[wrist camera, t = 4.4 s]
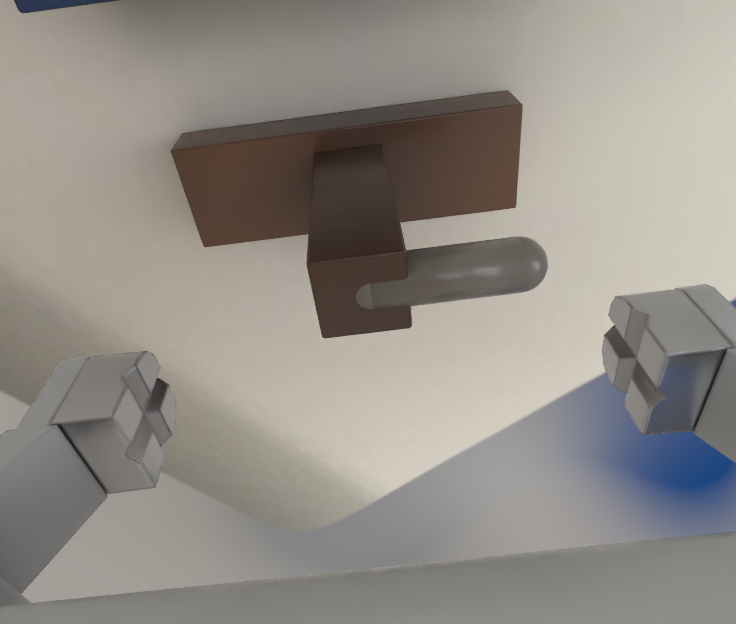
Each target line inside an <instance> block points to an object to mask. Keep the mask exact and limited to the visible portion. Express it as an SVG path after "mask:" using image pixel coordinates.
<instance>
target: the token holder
mask: <svg viewBox="0 0 736 624" xmlns="http://www.w3.org/2000/svg"><path fill="white" fill-rule="evenodd" d="M14 1H15V4H16V6H17V8H18V10H19V11H20V12H21V13H30V12H37V11H44V10H52V9H59V8H66V7H73V6H81V5H88V4H95V3H102V2H110V1H117V0H14Z"/></svg>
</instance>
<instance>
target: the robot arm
mask: <svg viewBox="0 0 736 624" xmlns="http://www.w3.org/2000/svg"><path fill="white" fill-rule="evenodd" d="M608 316H609V317H610V319H611V320H612V322H613V323H614V326H613V327H612V328H611V329H610V330H609V331H608V332H607V333H606V334H605V335H604V340H603V346H602V355H603V365H604V367H605V370H606V373H607V376H608V378H609V380H610V381H611V383H612V385H613V386H614V387H616V388H617V389H619V390H621V391H622V392H624V393H626V394H627V396H626V400H625V404H624V406H625V408H626V409H627V411H628V413H629V414H630V416H631V418H632V419H633V421H634V423H635V425H636V426H637V428H638V430H639V431H640V433H641V434H642V435H649V434H661V433H673V432H686V431H694V434H695V435H697V436H698V437H700V438H701V439H702V440H704V441H705V442H707V443H708V444H709V445H711V446H712V447H714V448H715V449H716V450H718V451H719V452H721V453H722V454H724V455H725V456H727V457H728V458H729V459H731V460H732V461H734V462H735V463H736V309H735V307H734V306H733V305H732V304H731V303H730V302H729V301H728V300H727V299H726V298H724V297H723V296H722V295H721V294H720V293H719V292H718V291H717V290H716V289H715V288H714V287H712V286H710V285H707V284H702V285H695V286H688V287H681V288H675V289H674V290H664V291H656V292H648V293H639V294H631V295H623V296H615V298H614V300H613V301H612V303H611V306H610V310H609V315H608ZM160 368H161V367H160V365H159V363H158V361H157V359H156V358H155V356H154V354H153V353H150V352H148V351H141V352H130V353H119V354H109V355H98V356H92V357H81V358H71V359H65V360H63V361H61V362H59V363H58V364H57V365H56V367H55V369H54V370H53V372H52V373H51V375H50V377H49V378H48V380H47V381H46V383H45V384H44V386H43V388H42V389H41V391H40V392H39V394H38V396H37V397H36V399H35V400H34V402H33V404H32V405H31V407H30V408H29V410H28V412H27V413H26V415H25V417H24V418H23V420H22V421H21V423H20V424H19V426H18V427H17V429H15V430H7V431H6V432H4V433H3V434H1V435H0V624H736V532H726V533H716V534H706V535H696V536H687V537H677V538H667V539H658V540H648V541H637V542H628V543H618V544H609V545H599V546H589V547H579V548H569V549H559V550H550V551H541V552H530V553H521V554H511V555H501V556H491V557H482V558H471V559H461V560H452V561H442V562H432V563H422V564H412V565H402V566H392V567H382V568H373V569H362V570H353V571H343V572H334V573H323V574H313V575H303V576H293V577H283V578H273V579H264V580H253V581H244V582H234V583H224V584H214V585H204V586H194V587H184V588H175V589H164V590H155V591H145V592H135V593H125V594H116V595H106V596H96V597H86V598H75V599H67V600H56V601H46V602H36V603H31V602H30V601H28V600H27V599H26V598H25V597H24V596H23V595H22V593H23V591H24V590H25V589H26V588H27V587H28V586H29V585H30V584H31V582H32V581H33V580H34V579H35V578H36V577H37V576H38V575H39V573H40V572H41V571H42V570H43V569H44V568H45V567H46V566H47V564H48V563H49V562H50V561H51V560H52V559H53V558H54V557H55V555H56V554H57V553H58V552H59V551H60V550H61V549H62V547H63V546H64V545H65V544H66V543H67V542H68V541H69V540H70V538H71V537H72V536H73V535H74V534H75V533H76V532H77V531H78V530H79V528H80V527H81V526H82V525H83V524H84V523H85V522H86V521H87V519H88V518H89V517H90V516H91V515H92V514H93V513H94V512H95V510H96V509H97V508H98V507H99V506H100V505H101V504H102V503H103V501H104V500H105V499H106V498H107V494H111V493H119V492H126V491H134V490H141V489H149V488H155V487H156V484H157V481H158V478H159V475H160V472H161V469H162V466H163V463H164V460H165V457H166V455H165V453H164V451H163V449H162V448H161V445H162V444H164V443H165V442H166V441H167V440H168V439H169V438H170V437H171V436H172V434H173V431H174V428H175V424H176V407H177V406H176V402H175V398H174V394H173V392H172V390H171V388H170V385H169V384H167V383H165V382H164V381H162V380H161V379H159V378H157V375H158V373H159V370H160Z"/></svg>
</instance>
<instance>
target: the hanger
mask: <svg viewBox="0 0 736 624" xmlns="http://www.w3.org/2000/svg"><path fill="white" fill-rule="evenodd" d="M522 106H523V105H522V104H521V103H520V102H519V101H518V100H517V99H516V98H515V97H514V96H513V95H512V94H511V93H510V92H509V91H508V90H507V91H499V92H492V93H484V94H477V95H469V96H461V97H454V98H446V99H439V100H431V101H424V102H416V103H408V104H401V105H393V106H386V107H378V108H371V109H363V110H355V111H348V112H340V113H333V114H325V115H318V116H310V117H302V118H295V119H287V120H280V121H272V122H265V123H257V124H250V125H242V126H234V127H227V128H219V129H212V130H204V131H197V132H189V133H183V134H182V135H181V136H180V138H179V139H178V141H177V142H176V144H175V145H174V147H173V148H172V150H171V153H172V156H173V159H174V162H175V165H176V168H177V171H178V173H179V176H180V179H181V182H182V185H183V188H184V191H185V194H186V197H187V199H188V202H189V205H190V208H191V211H192V214H193V217H194V220H195V223H196V225H197V228H198V231H199V234H200V237H201V240H202V243H203V246H204V247H211V246H218V245H226V244H234V243H242V242H250V241H258V240H266V239H274V238H281V237H289V236H297V235H305V234H309V236H308V250H307V269H308V273H309V278H310V283H311V287H312V292H313V297H314V301H315V306H316V311H317V315H318V320H319V325H320V329H321V334H322V337H323V338H332V337H340V336H348V335H356V334H365V333H373V332H381V331H389V330H397V329H405V328H410V327H411V326H412V317H411V306H417V305H425V304H433V303H441V302H449V301H457V300H466V299H474V298H482V297H490V296H498V295H506V294H514V293H522V292H526V291H529V290H531V289H534V288H535V287H536V286H538V285H539V284H540V283H541V281H542V280H543V279H544V277H545V275H546V272H547V268H548V260H547V256H546V253H545V251H544V249H543V248H542V247H541V246H540V245H539V244H538V243H537V242H535V241H534V240H532V239H530V238H527V237H510V238H502V239H494V240H486V241H478V242H470V243H462V244H454V245H446V246H438V247H430V248H422V249H414V250H406V248H405V243H404V239H403V234H402V230H401V225H400V222H407V221H415V220H423V219H431V218H439V217H447V216H455V215H462V214H470V213H478V212H486V211H494V210H502V209H510V208H515V207H516V199H517V184H518V168H519V153H520V137H521V122H522Z"/></svg>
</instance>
